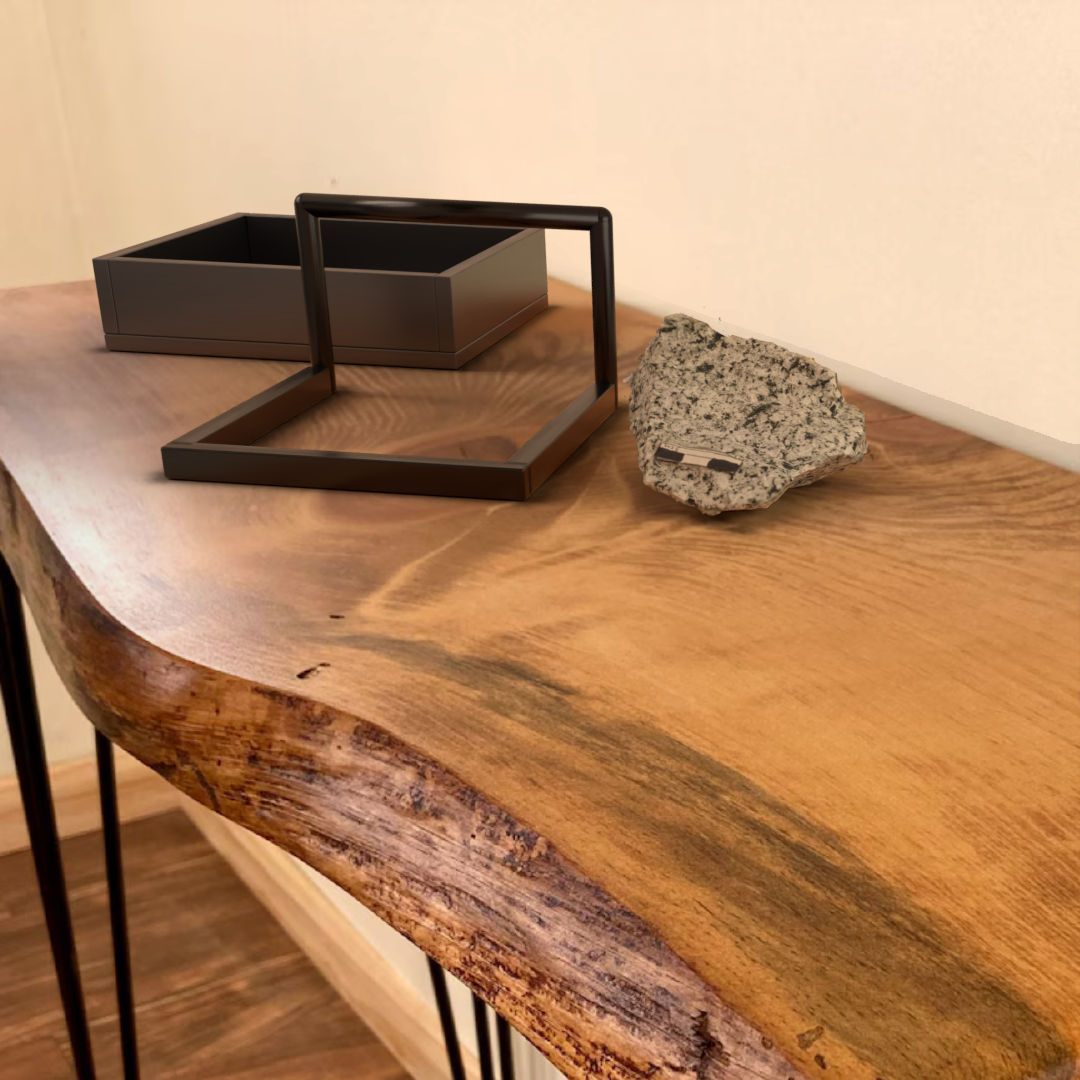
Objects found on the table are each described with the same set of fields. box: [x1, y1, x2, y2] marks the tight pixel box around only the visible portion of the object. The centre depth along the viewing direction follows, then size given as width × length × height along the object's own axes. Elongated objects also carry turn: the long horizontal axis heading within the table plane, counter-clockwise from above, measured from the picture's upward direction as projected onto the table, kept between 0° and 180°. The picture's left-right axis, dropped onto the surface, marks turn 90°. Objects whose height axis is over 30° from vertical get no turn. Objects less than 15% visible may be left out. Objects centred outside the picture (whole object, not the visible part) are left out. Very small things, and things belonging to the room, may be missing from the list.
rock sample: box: [621, 306, 874, 516], centre depth 67 cm, size 10×8×9 cm
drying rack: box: [160, 192, 619, 501], centre depth 72 cm, size 14×16×8 cm
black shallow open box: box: [91, 212, 549, 370], centre depth 92 cm, size 18×17×4 cm
